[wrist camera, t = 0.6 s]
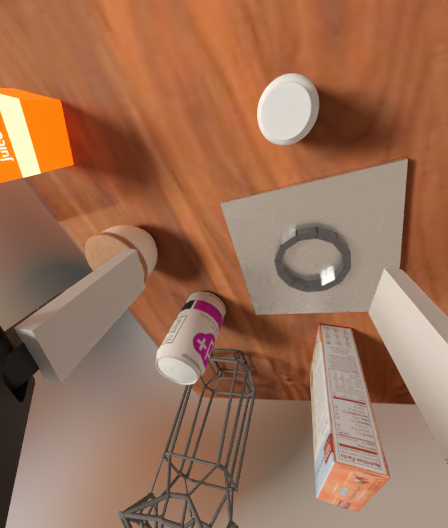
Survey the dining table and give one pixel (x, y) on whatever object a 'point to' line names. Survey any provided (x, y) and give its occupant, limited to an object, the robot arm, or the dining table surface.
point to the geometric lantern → (139, 517)
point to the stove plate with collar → (320, 239)
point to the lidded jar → (122, 247)
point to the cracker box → (343, 423)
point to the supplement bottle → (288, 109)
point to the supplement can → (191, 339)
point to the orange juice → (31, 135)
